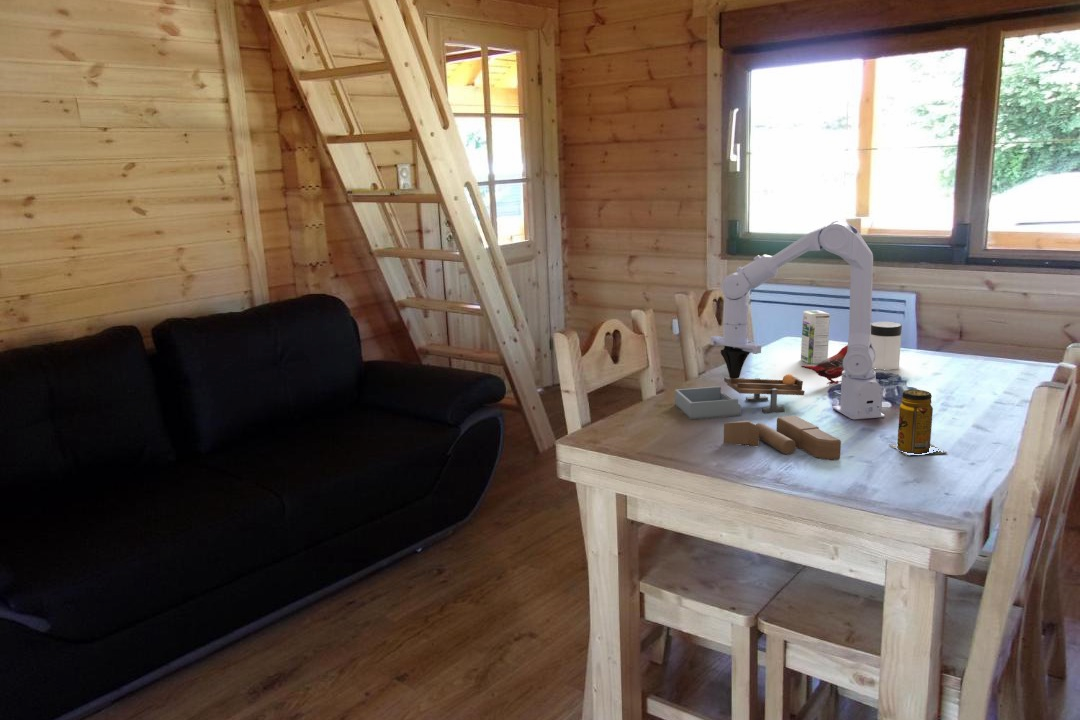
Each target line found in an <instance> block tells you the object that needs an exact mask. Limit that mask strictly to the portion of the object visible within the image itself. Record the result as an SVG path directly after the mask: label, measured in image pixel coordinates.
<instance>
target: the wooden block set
mask: <svg viewBox="0 0 1080 720" xmlns="http://www.w3.org/2000/svg"><path fill="white" fill-rule="evenodd" d="M759 440H761V441H762V442H764V443H765V444H767V445H769V446H771V447H772V448H774V449H775V450H777V451H779V452H780V453H782V454H784V455H791V454H793V453H794V452H795V451H796V449H798V450H802V451H804V452H805V451H806V452H805V453H807V454H809V455H811V456H812V455H813V457H814V458H816V459H820V458H821V460H827V459H829V460H828V461H834V459H836V460H839V459H840V458H841V448H842V447H841V446H842V441H841V439H839V438H838V437H835V436H833V435H832V434H829V433H828V432H825V431H824V430H822V429H820V428H819V426H817V425H814V423H811V422H809V421H807V420H805V419H803V418H801V417H799V416H797V415H785V416H778V417H776V429H774V428H772V427H770V426H769V425H766V423H763V422H758V423H756V424H755V423H754V422H751V421H750V420H748V419H747V420H741V421H740V420H739V421H731V422H730V421H729V422H724V423H723V443H724V444H729V443H731V444H732V445H736V444H741V445H740V446H745V445H749V446H748V447H754V446H759V444H760V443H759V442H760V441H759ZM759 447H760V446H759Z"/></svg>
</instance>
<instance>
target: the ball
mask: <svg viewBox="0 0 1080 720" xmlns="http://www.w3.org/2000/svg"><path fill="white" fill-rule="evenodd" d="M795 377H796V376H794V375H793V374H790V373H788V374H785V375H784V376H783V377H782V379H781V380H782V381H783V384H792V385H794V384H795V381H796V380H795Z"/></svg>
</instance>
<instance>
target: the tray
mask: <svg viewBox="0 0 1080 720" xmlns="http://www.w3.org/2000/svg"><path fill="white" fill-rule="evenodd" d="M674 406H675V407H676V408H677V409H678V410H679V411H680V412H681V411H682V412H683V413H684V414H683V413H682V414H683V415H685V416H686V417H687V418H688V419H689V420H691V421H693V420H692V419H696V420H705V419H706V418H708V419H719V417H721V418H729V417H730V416H733V417H740V416H741V404H739V399H738V398H732V397H730V396H728V395H727V394H725V392H723V391H722V388H721V386H720V385H719V386H706V387H705V386H704V387H694V388H693V387H690V388H680V389H674ZM730 418H731V417H730Z"/></svg>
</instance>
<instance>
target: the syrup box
mask: <svg viewBox="0 0 1080 720" xmlns="http://www.w3.org/2000/svg"><path fill="white" fill-rule="evenodd" d="M830 321H831V313H828V312H825V311H822V310H817V309H813V310H811V309H810V310H804V311H803V312H802V328H801V346H800V347H801V348H800V361H803V362H805V363H807V364H809V365H815V364H816V365H817V364H819V363H821V362H822V361H824V360H826V359H828V358H829V357H828V356H829V353H828V352H829V342H830V341H829V340H830V338H829V337H830Z"/></svg>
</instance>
